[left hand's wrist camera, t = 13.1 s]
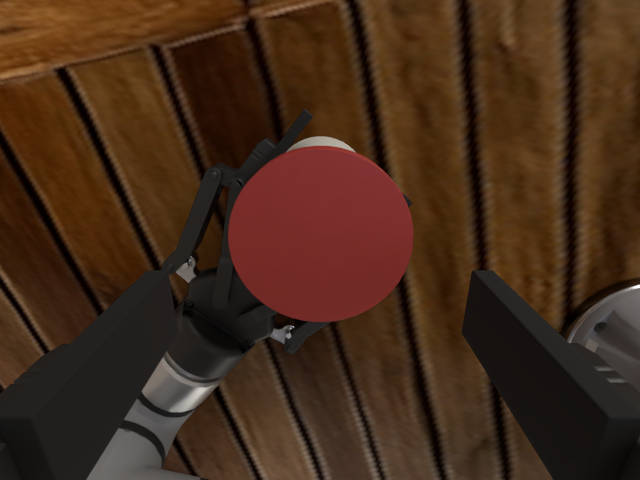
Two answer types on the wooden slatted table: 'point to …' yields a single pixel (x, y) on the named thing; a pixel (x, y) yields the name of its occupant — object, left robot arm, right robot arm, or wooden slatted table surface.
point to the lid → (320, 234)
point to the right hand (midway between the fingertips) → (358, 156)
